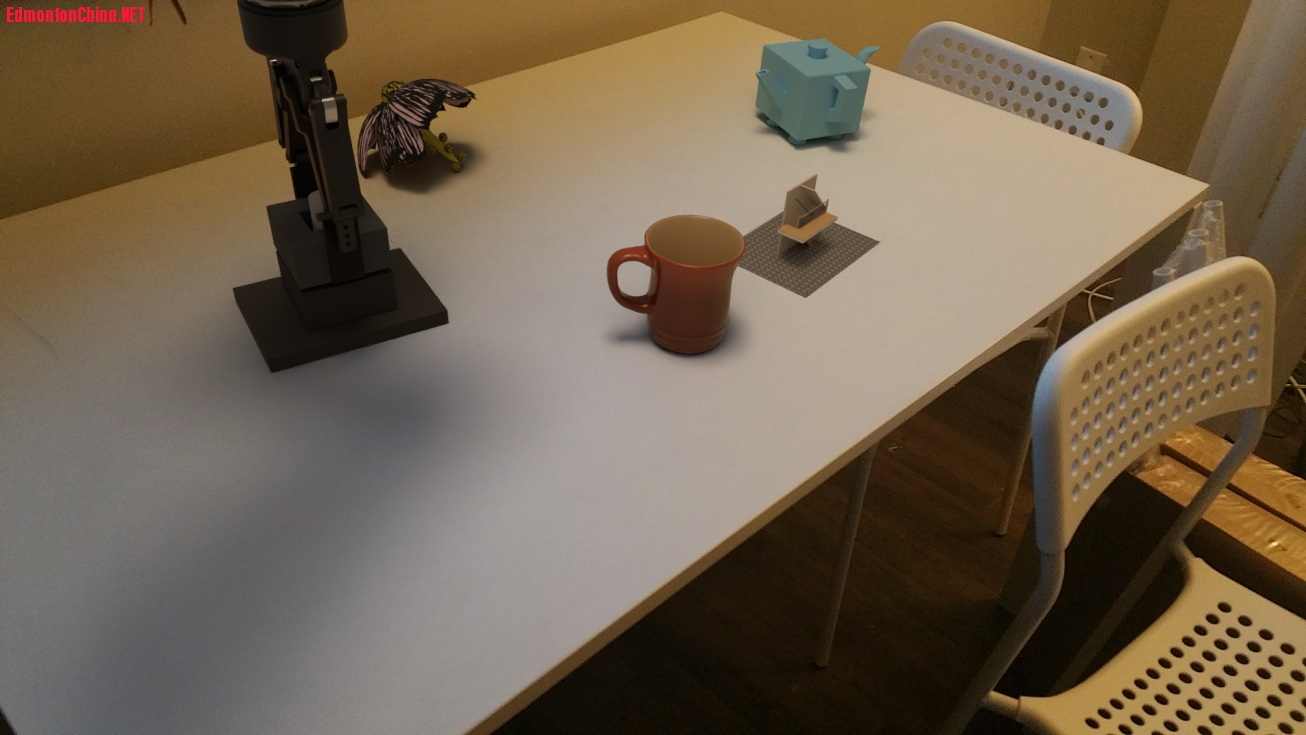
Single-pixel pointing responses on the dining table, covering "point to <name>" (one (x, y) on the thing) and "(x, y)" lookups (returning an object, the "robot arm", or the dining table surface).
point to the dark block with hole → (340, 298)
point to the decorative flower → (410, 123)
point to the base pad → (294, 345)
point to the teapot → (813, 88)
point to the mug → (683, 280)
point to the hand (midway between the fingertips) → (332, 253)
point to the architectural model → (802, 243)
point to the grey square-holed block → (322, 242)
